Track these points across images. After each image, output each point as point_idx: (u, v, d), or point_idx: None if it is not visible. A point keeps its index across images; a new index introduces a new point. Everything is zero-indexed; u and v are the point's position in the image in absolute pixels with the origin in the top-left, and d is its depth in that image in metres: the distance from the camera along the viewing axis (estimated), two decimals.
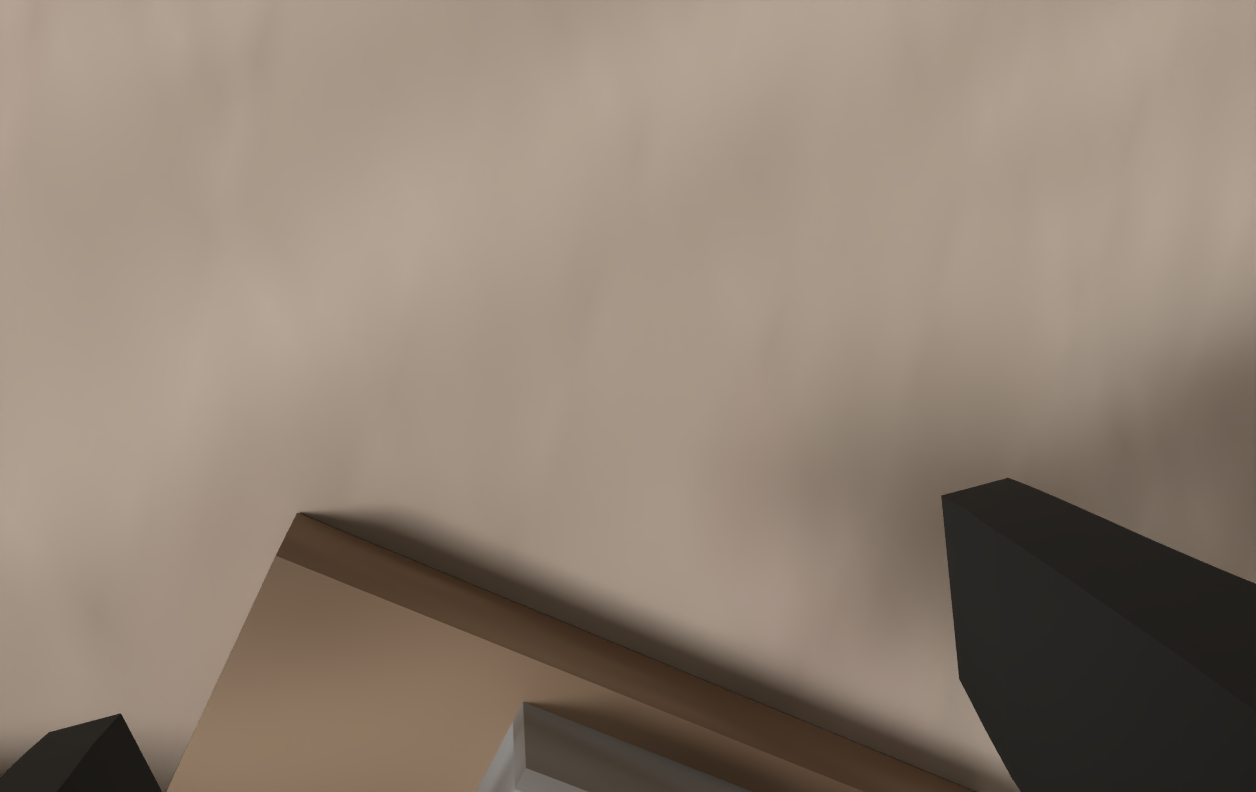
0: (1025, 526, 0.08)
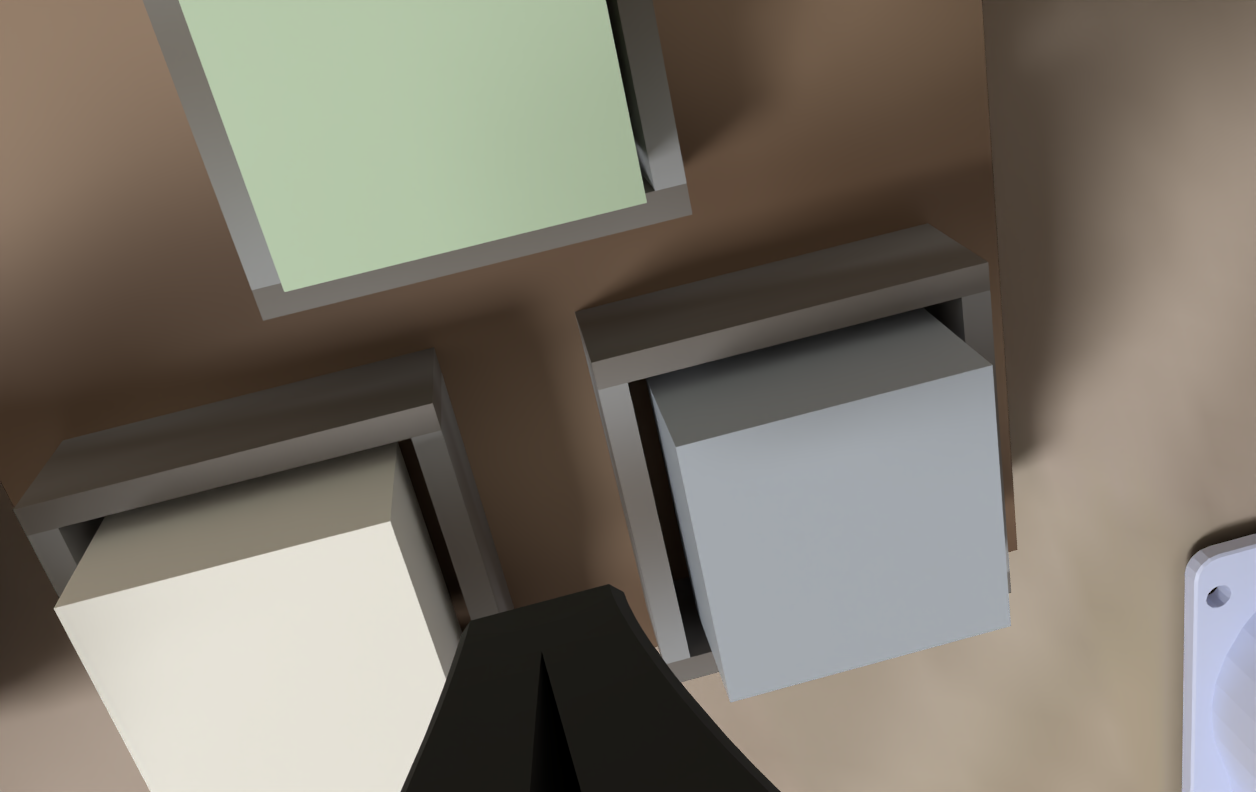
0: (570, 649, 0.08)
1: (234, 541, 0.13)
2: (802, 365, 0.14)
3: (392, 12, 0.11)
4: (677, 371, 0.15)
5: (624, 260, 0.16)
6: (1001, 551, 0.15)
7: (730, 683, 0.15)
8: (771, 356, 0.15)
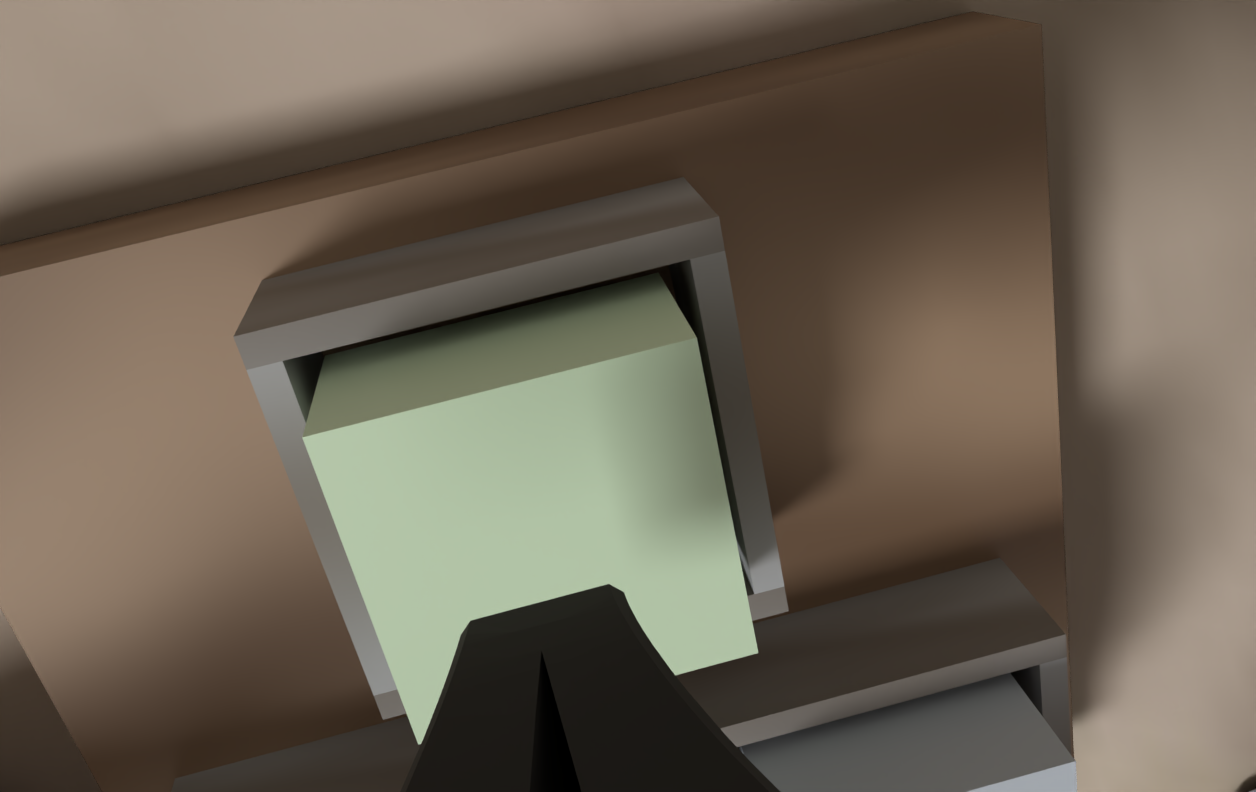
0: (570, 648, 0.08)
1: None
2: (888, 732, 0.15)
3: (530, 519, 0.12)
4: None
5: None
6: None
7: None
8: None
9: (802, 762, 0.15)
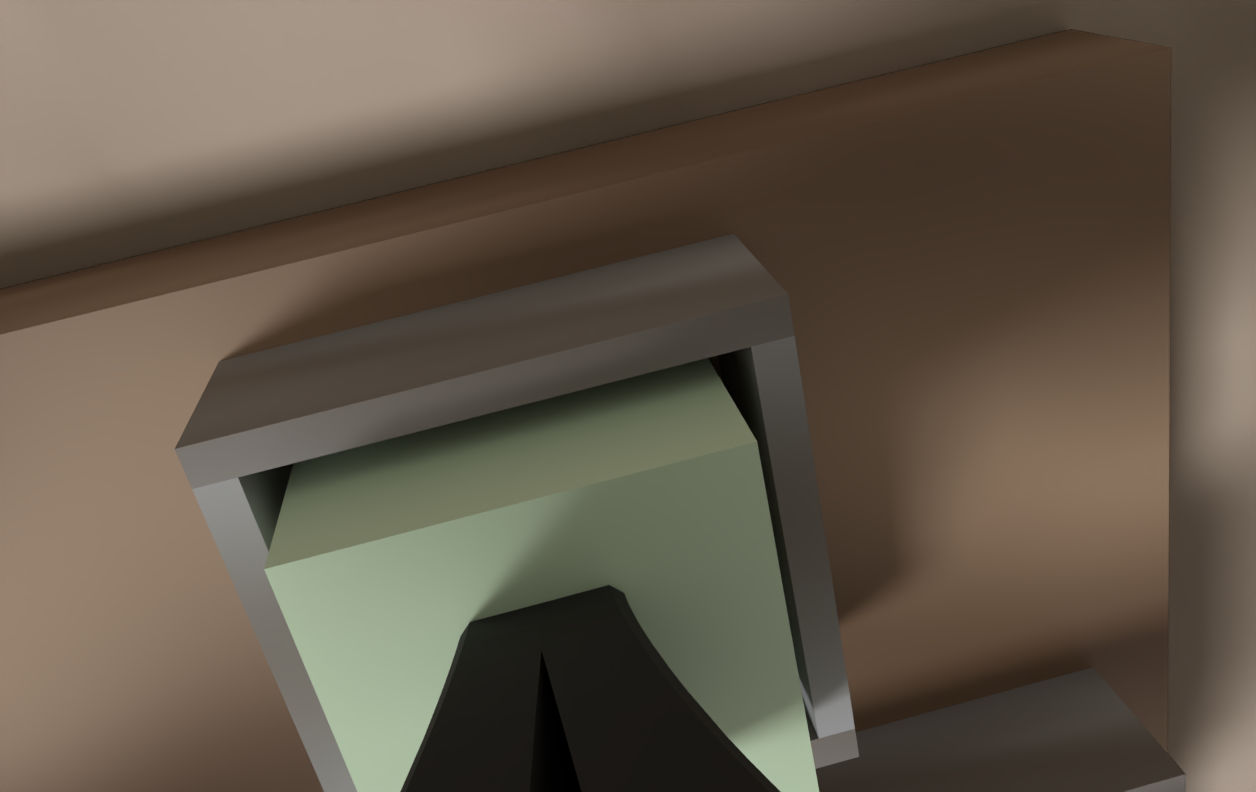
0: (571, 648, 0.08)
1: None
2: None
3: None
4: None
5: None
6: None
7: None
8: None
9: None
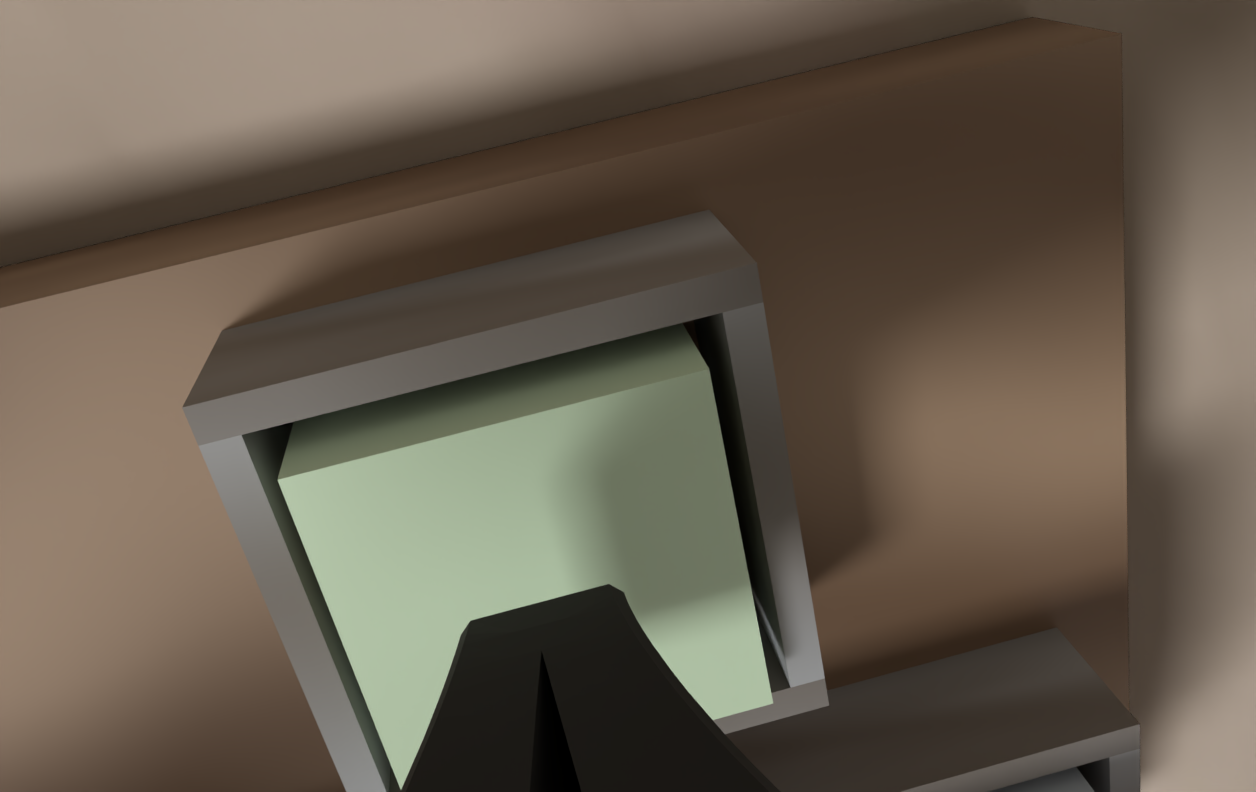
0: (570, 649, 0.08)
1: None
2: None
3: (528, 565, 0.11)
4: None
5: None
6: None
7: None
8: None
9: None
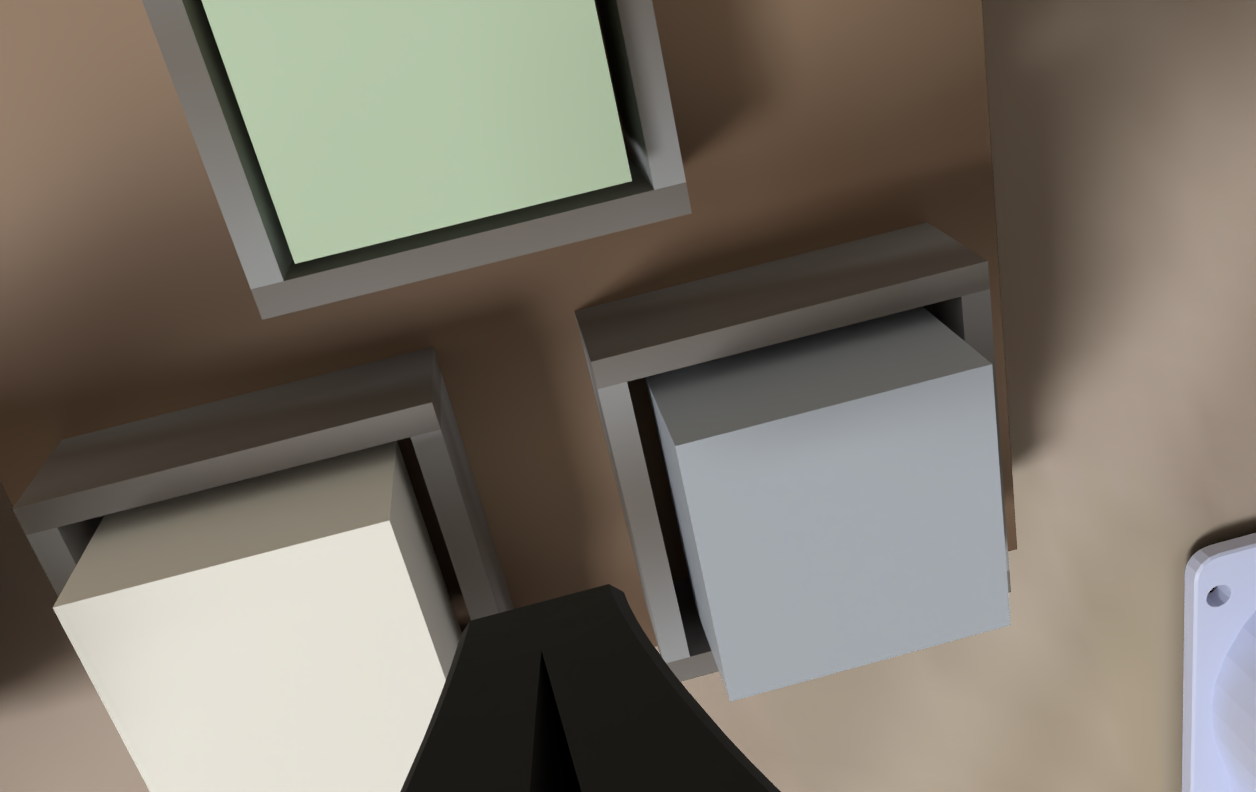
0: (570, 649, 0.08)
1: (234, 541, 0.13)
2: (802, 364, 0.14)
3: (395, 3, 0.12)
4: (677, 370, 0.15)
5: (623, 259, 0.16)
6: (1000, 550, 0.15)
7: (729, 681, 0.15)
8: (771, 355, 0.15)
9: (711, 391, 0.14)
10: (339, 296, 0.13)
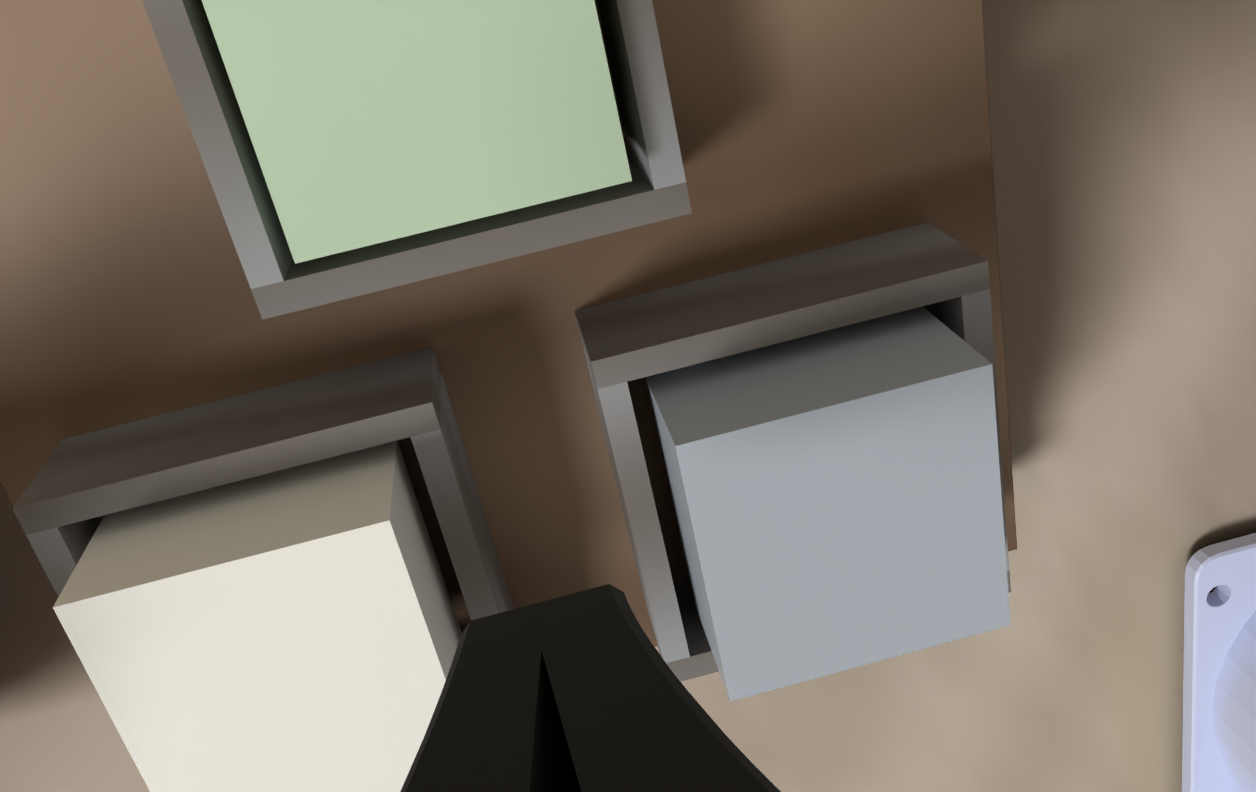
0: (570, 648, 0.08)
1: (234, 541, 0.13)
2: (802, 364, 0.14)
3: (395, 3, 0.12)
4: (677, 370, 0.15)
5: (623, 259, 0.16)
6: (1000, 550, 0.15)
7: (729, 681, 0.15)
8: (771, 355, 0.15)
9: (711, 391, 0.14)
10: (339, 296, 0.13)
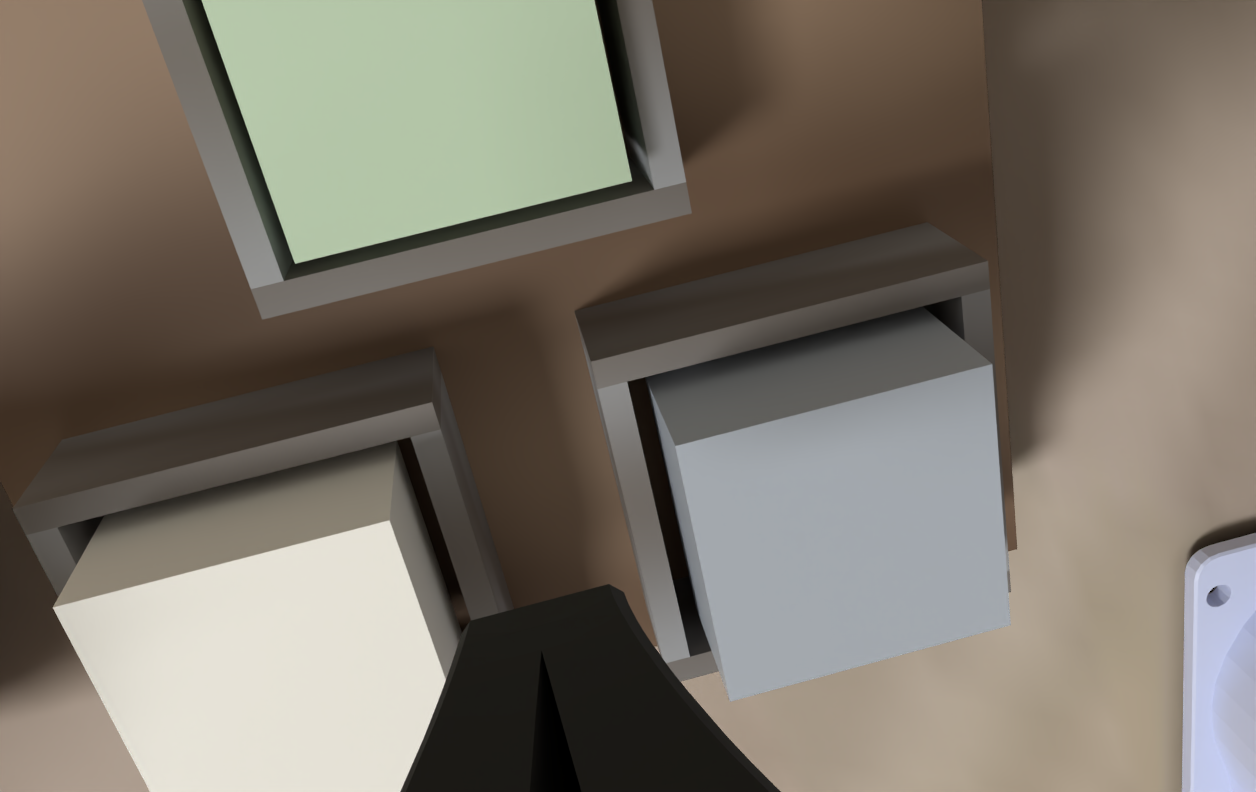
0: (570, 648, 0.08)
1: (234, 541, 0.13)
2: (802, 364, 0.14)
3: (395, 3, 0.12)
4: (677, 370, 0.15)
5: (623, 259, 0.16)
6: (1000, 550, 0.15)
7: (729, 681, 0.15)
8: (771, 355, 0.15)
9: (711, 391, 0.14)
10: (339, 296, 0.13)
